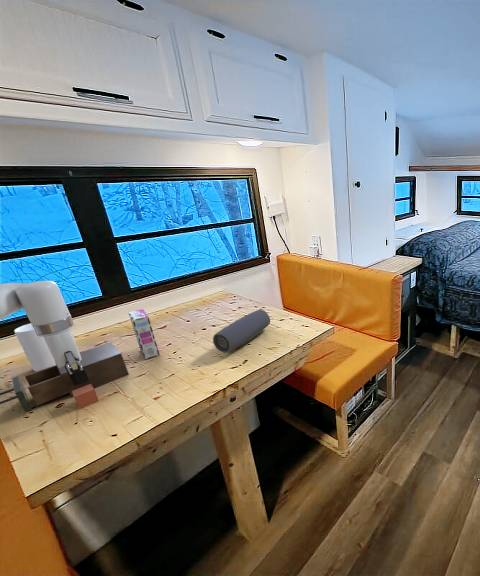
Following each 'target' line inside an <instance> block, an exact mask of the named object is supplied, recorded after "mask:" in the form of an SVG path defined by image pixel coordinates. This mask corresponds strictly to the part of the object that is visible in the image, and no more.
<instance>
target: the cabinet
mask: <svg viewBox="0 0 480 576" xmlns="http://www.w3.org/2000/svg"><path fill="white" fill-rule="evenodd" d="M79 352H80V355H81V359H82V360H81V361H79V362H80V364H81V366H82V368H84V370H85V372H86V374H87V377H88V379H89V380H88V381H87V382H84V383H82V384H79V385H76V386H74V385H73V383H72V381H71V378H70V376H69V373H67V371H66V369H65V367H62V368H58V369H59V372H60V374H61V376H62V378H63V380H64V382H65V385H66V387H67V389H68V391H69V393H68V394H69V395H70V398H74V396H73V394H72V392H71V391H73V390H76V389H78V388H81V387H84V386H86V385H89V384H91V385H92V387H93V388H94V389H96V388H99V387H101V386H103V385H106V384H108V383H109V384H110V383H112V382H114V381H116V380H118V379H121V378H124V377H127V376H128V375H130V373H129V371H128V367H127V366H126V363H125V359H124V357H123V355H122V352H121V351H119V349H118V348H117V347H116V345H114V343H113V342H112V341H111V342H108V343H103V344H101V345H98V346H94V347H91V348H89V349H86V350H82V351H79ZM55 363H56V362H55ZM56 365H57V364H56ZM57 367H58V366H57Z"/></svg>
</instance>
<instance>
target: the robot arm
mask: <svg viewBox="0 0 480 576" xmlns="http://www.w3.org/2000/svg"><path fill="white" fill-rule="evenodd" d="M21 310H24V312H25V314H26V316H27V318H28V320H29V322H30V323H31V324H32V326H33V328H34V330H35V332H36V335H37V336H40V337H44V339H45V341H46V344H47V346H48V348H49V350H50V352H51V354H52V356H53V358H54V360H55V362H56V364H57V366H58V368H62V367H65V369H66V371H67V373H69V376H70V378H71V381H72V383H73V385H74V386H76V385H79V384H82V383H84V382H87V381H88V380H89V379H88V377H87V374H86V372H85V370H84V368H82V366H81V364H80V362H79V361H81V360H82V359H81V355H80V352H81V351H80V349H79V346H78V344H77V342H76V339H75V337H74V334H73V332H72V329H73V328H75V326H76V324H75V322H74V319H73V317H72V315H71V313H70V311H69V308H68V306H67V304H66V301H65V299H64V297H63V295H62V292H61V290H60V288H59V286H58V284H57V283H56V282H55V281H52V280H39V281H33V282H8V283H1V284H0V321H1V320H3V319H5V318H7V317H9V316H11V315H12V314H15V313H17V312H20V311H21Z"/></svg>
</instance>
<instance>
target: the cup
mask: <svg viewBox="0 0 480 576" xmlns="http://www.w3.org/2000/svg"><path fill="white" fill-rule="evenodd" d="M13 332H14V334H15V337H16V338H17V340H18V342H19V344H20V346H21V348H22V350H23V353H24V354H25V356H26V358H27V360H28V362H29V364H30V366H31V368H32V370H33V371H34V372H37V371H40V370H42V369H45V368H48V367H51V366H54V365H56V363H55V360H54V358H53V356H52V354H51V352H50V350H49V348H48V346H47V344H46V341H45V339H44V337H40V336H37V335H36V332H35V330H34V328H33V326H32V324H31V322H30V323H27V324H23V325H21V326H19V327H17V328H15V329H14V330H13Z"/></svg>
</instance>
